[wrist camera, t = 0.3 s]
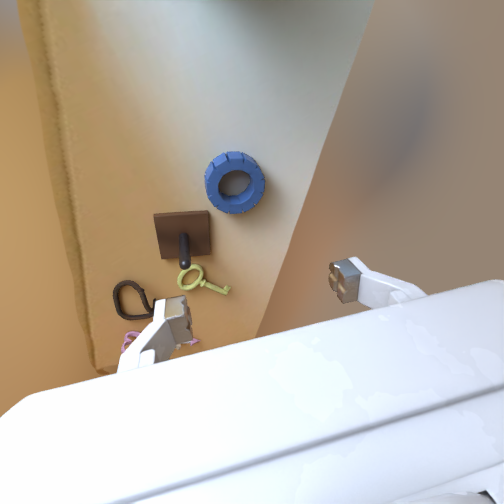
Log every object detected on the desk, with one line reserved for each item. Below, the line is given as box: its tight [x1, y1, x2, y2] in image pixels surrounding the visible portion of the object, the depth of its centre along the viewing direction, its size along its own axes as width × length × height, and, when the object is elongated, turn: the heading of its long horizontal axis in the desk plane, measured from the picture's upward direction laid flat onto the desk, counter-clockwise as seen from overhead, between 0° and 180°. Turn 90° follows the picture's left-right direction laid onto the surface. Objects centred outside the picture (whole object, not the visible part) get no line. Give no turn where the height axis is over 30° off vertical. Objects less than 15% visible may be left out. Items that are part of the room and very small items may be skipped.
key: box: [177, 264, 231, 295], centre depth 64 cm, size 7×12×2 cm, turn 71°
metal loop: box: [113, 280, 156, 320], centre depth 62 cm, size 13×5×10 cm
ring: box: [205, 152, 265, 214], centre depth 51 cm, size 10×10×4 cm
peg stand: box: [154, 210, 210, 270], centre depth 53 cm, size 10×10×11 cm
